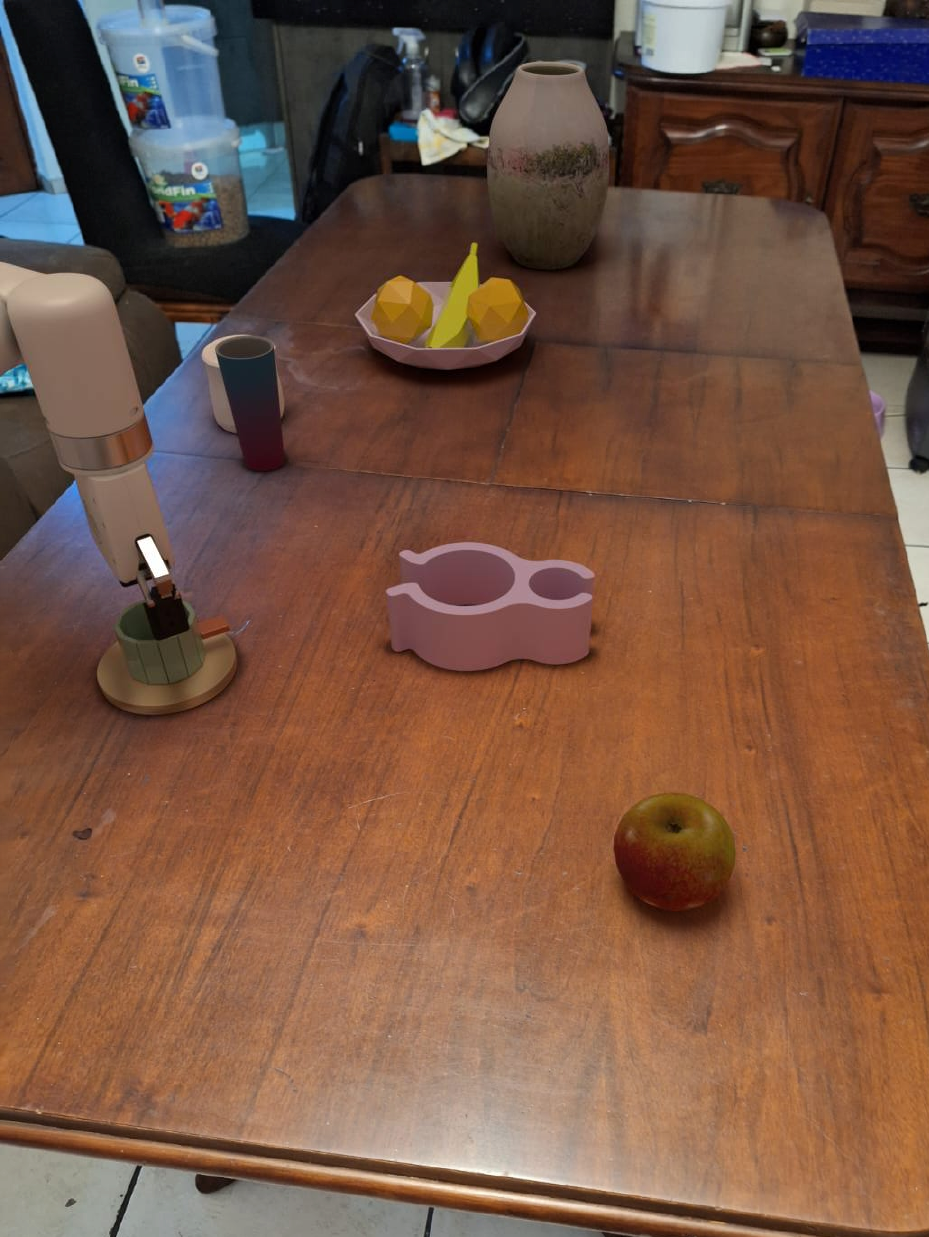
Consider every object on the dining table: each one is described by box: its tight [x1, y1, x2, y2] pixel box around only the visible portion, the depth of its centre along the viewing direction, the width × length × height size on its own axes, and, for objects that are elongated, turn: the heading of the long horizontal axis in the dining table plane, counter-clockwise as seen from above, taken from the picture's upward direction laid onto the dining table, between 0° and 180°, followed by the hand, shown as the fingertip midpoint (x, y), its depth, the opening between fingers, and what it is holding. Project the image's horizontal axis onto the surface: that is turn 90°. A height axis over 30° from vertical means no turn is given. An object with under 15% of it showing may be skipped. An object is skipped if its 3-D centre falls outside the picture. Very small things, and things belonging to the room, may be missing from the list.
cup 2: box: [215, 334, 286, 472], centre depth 126 cm, size 7×7×15 cm
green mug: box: [113, 599, 231, 684], centre depth 98 cm, size 10×7×5 cm
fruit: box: [613, 792, 736, 912], centre depth 80 cm, size 10×9×8 cm
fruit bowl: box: [354, 242, 537, 371], centre depth 154 cm, size 28×27×11 cm
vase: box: [486, 61, 610, 271], centre depth 178 cm, size 21×21×30 cm
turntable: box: [96, 622, 238, 716], centre depth 100 cm, size 13×13×1 cm
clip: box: [385, 541, 595, 672], centre depth 103 cm, size 20×12×7 cm, turn 85°
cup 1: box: [200, 334, 286, 435], centre depth 136 cm, size 10×10×10 cm
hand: (154, 607), depth 95 cm, fingers open, 9 cm apart
